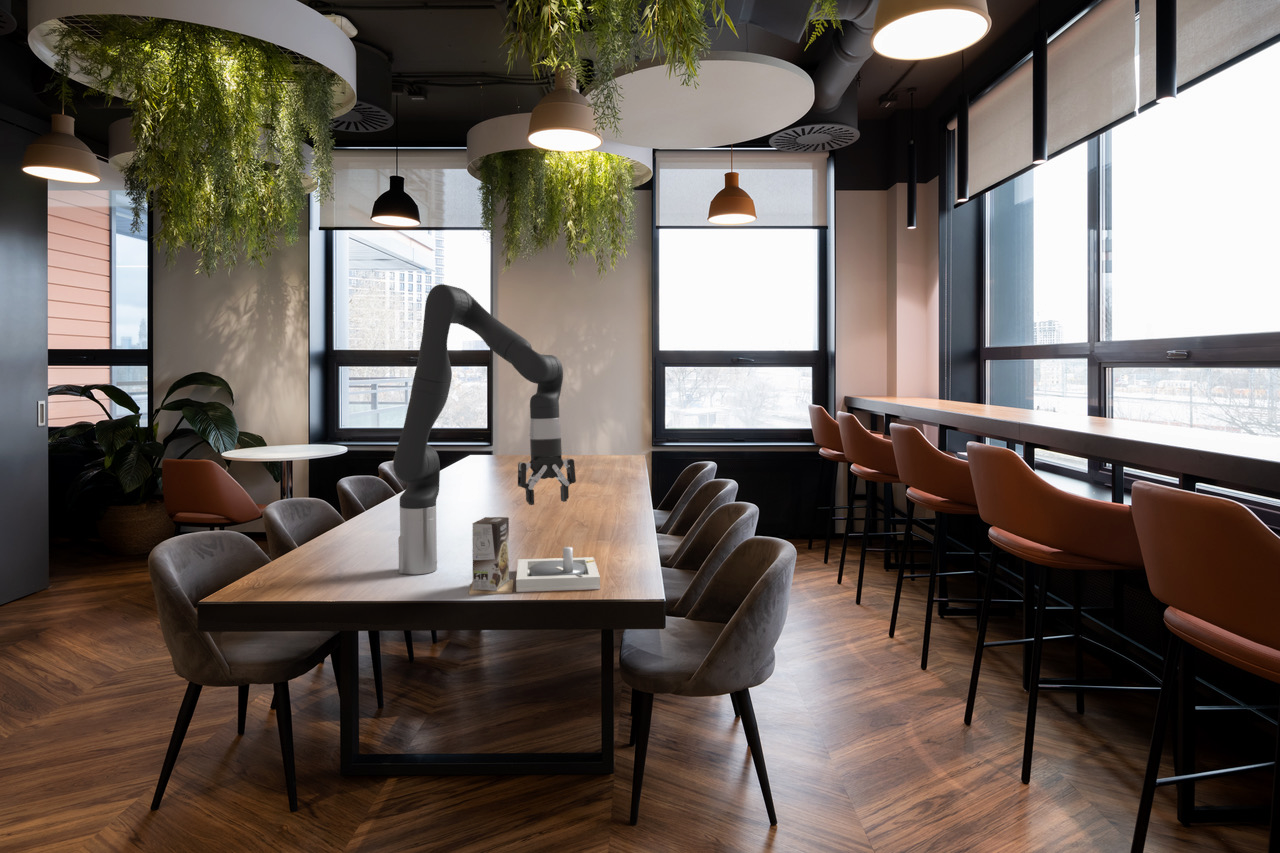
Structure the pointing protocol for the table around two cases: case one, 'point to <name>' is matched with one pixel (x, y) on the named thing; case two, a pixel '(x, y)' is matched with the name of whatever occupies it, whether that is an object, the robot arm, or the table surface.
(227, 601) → the table surface
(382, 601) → the table surface
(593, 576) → the white square tray
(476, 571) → the coffee box
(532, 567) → the dial
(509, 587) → the coaster
